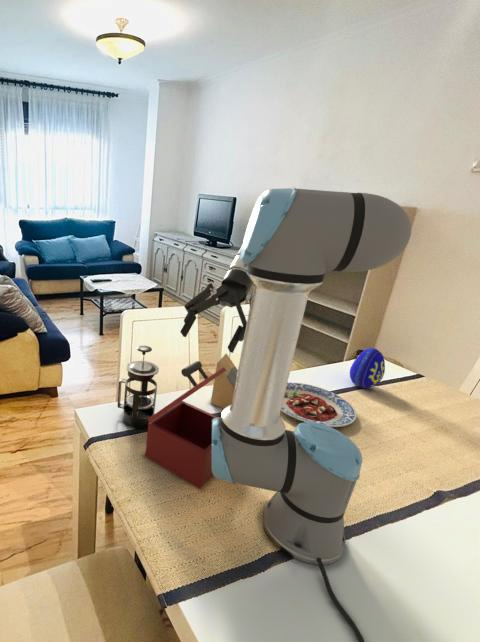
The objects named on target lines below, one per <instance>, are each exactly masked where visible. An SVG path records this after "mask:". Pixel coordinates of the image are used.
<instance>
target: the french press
mask: <svg viewBox="0 0 480 642" xmlns="http://www.w3.org/2000/svg"><path fill="white" fill-rule="evenodd" d="M136 350H137V351H138V352H140V353H141V354H142V360H135V361H131V362H129V363H128V364H127V365H126V368H125V369H126V371H127V376H128V378H120V379H119V381H118V391H117V408H118V409H123V412H122V418H121V419H122V422H123V423H124V425H126V426H127V427H129V428H131V429H137V430H145V429H148V423H149V421H148V419H149V418H150V417H151V416H153V415H154V414H155V412H156V401H157V391H158V383H157V381H156V380H155V379H153V378H154V377H155V375H157V374H158V373H159V371H160V368H159V366H158V365H157V364H155V363H153V362H151V361H146V360H145V355H146V353H150V352H152V350H153V348H152V347H150V346H149V345H138V346H137V347H136ZM134 381H136V382H140V385H139V387H140V388H139V390H137V389H133V388H131V387H129V386H128V385H129V383H131V382H134ZM122 383H123V384H125V385H124V386H125V387H124V398H123V404H122V403H121V400H122V399H121V398H122V396H121V395H122ZM149 383H151V384H152V385H154V388H153V389H150V390H148V388H149V387H148V385H149ZM128 393H130V394H128ZM151 395H153V397H152V396H151ZM139 413H142V414H145V415H147V417H139ZM130 414H131V415H130Z"/></svg>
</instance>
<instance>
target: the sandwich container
mask: <svg viewBox="0 0 480 642" xmlns="http://www.w3.org/2000/svg"><path fill="white" fill-rule="evenodd" d="M223 367H224V368H225V369H226V371H225V372H224V373H222V374H221V375H219V376H218V377H216V378H215V379H213V386H212V392H211V399H210V405H213V406H216V407H219V408H221V409H224V408H226V407H228V406H230V405H232V399H233V394H234V389H235V383H236V378H237V373H238V368H237V367H236V365H235V364H234V362H233V361H232V359H231V358H230V357H229V355H228V353H226V352H225V354H224V355H223V356H222V357H221V358H220V359H219V360H217V363H216V368H215V373H216V372H217V371H219V370H220V369H222V368H223Z"/></svg>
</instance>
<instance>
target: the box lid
mask: <svg viewBox="0 0 480 642" xmlns="http://www.w3.org/2000/svg"><path fill="white" fill-rule="evenodd" d="M225 371H226V369H225V368H224V367H223V368H222V369H220V370H219V371H217V372H216V371H215V372H214V373H213V374H211V375H210V376H208V375H207V374H206V372H205V371H204V369H203V364H202V362H201V361H199V360H196V361H193V362H192V363H191V364H189V365H187V366H185V367H184V368H182V369H181V375H182V376H183V377H184V378H187V379H188V380H189V382H190V384H191V385H192V386H193V387H192V388H189V390H187V391H185V392H184V393H183V394H181V395H180V396H179V397H177V398H176V399H174V400H172V402H170V403H168V404H167V405H166V406H164V407H163V408H162V409H160V410H159V411H157V412H156V413H154V415H153V416H151V417H150V418H149V419H148V421H149V422H152V421H153V420H155V419H156V418H158V417H159V416H161V415H162V414H163V413H165V412H166V411H168V410H169V409H171V408H172V407H174V406H175V405H177V404H178V403H180V402H181V401H184V400H185V399H188V397H190V396H192V395H193V394H194V393H196V392H197V391H199V390H201V389H202V388H203V387H205V386H206V385H208V384H209V383H211V382H212V381H214V379H215V378H216V377H218V376H219V375H221V374H222V373H224V372H225ZM196 372H199V374H201V376H202V377H203V380H202V381H201V382H199V383H197V382H196V379H194V377H193V376H192V375H193V374H194V373H196Z"/></svg>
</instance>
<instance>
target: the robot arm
mask: <svg viewBox="0 0 480 642" xmlns="http://www.w3.org/2000/svg"><path fill="white" fill-rule="evenodd" d="M411 234H412V223H411V221H410V217H409V214H408V213H407V212H406V211H405V210H404V208H403V207H402V206H401V205H400V204H398V203H396V202H395V201H393V200H392V199H389V198H388V197H384V196H381V195H379V194H374V193H368V192H349V191H335V190H334V191H333V190H322V189H321V190H319V189H308V188H296V187H292V188H290V187H288V188H269V189H267V190H265V191H263V192H262V193H261V194H260V195H259V197H257V200H256V202H255V204H254V207H253V209H252V212H251V214H250V218H249V219H248V223H247V226H246V229H245V232H244V237H243V241H242V244H241V246H240V248H239V250H238V252H237V253H236V255H235V257H234V259H233V260H232V262H231V264H230V265H229V268H228V270H227V272H226V273H225V274H224V276H223V279H222V281H221V283H220V285H219V286H215V285H214V284H213V283H212V282H209V283H208V284H207V286H206V287H205V288H204V289H203V290H201V292H199V293H198V294H197V295H195V296H194V297H193V298H192V299H191V300H189V301H188V302H186V303H185V304H184V309H185V310H186V312H187V313H186V316H185V317H184V319H183V323H184V324H183V326H182V327H181V329H180V334H181V335H182V337H184V338H187V336H188V334H189V332H190V330H191V329H192V327H193V326H194V323H195V321H196V320H197V316H196V315H199V314H201V313H202V312H205V311H206V310H208V309H211V308H212V307H214V306H218V305H221V306H223V307H224V306H227V307H228V308H234V307H235V308H236V311H237V314H238V316H239V319H240V322H241V325H240V324H239V325H238V326H237V328H236V330H235V332H234V333H233V336H232V337H231V340H230V341H229V343H228V345H227V349H228V351H229V353H231V354H233V353H234V352H235V349H236V347H237V345H238V343H239V342H242V346H241V352H240V358H239V362H238V366H237V367H238V368H237V370H238V373H237V378H236V383H235V389H234V394H233V399H232V405H230V406H228V407H226V408H222V409H223V410H221V414H220V417H219V416H217V417H218V418H213V419H212V464H211V469H212V473H213V477H214V478H215V479H218V480H220V481H224V482H228V483H231V484H233V485H242V486H247V487H251V488H257V489H260V490H261V489H262V490H267V491H271V492H275V493H273V495H272V496H271V498H270V499H269V500H268V501H267V503H266V504H265V506H264V509H263V511H262V516H261V521H262V526H263V529H264V532H265V534H266V535H267V537H268V538H269V540H271V542H272V543H273V544H274V545H275V546H276V547H277V548H278V549H279V550H281V551H282V552H284V553H285V555H288V556H290V557H291V558H293V559H295V560H297V561H300V562H303V563H305V564H308V565H309V564H310V565H315V566H318V567H319V571H320V573H321V575H322V578H323V582H324V585H325V588H326V591H327V593H328V595H329V597H330V599H331V600H332V602H333V604H334V606H335V607H336V608H337V609H338V611H339V613H340V614H341V616H343V618H344V619H345V620H346V622H347V623H348V625H349V626H350V628H351V629H352V631H353V633H354V634H355V636H356V638H357V641H358V642H365V639H364V637H363V635H362V633H361V631H360V630H359V627H358V626H357V625H356V623H355V622H354V620H353V619H352V617H351V616H350V615H349V614H348V613H347V611H346V610H345V608H344V607H343V605H342V604H341V603H340V602H339V600H338V598H337V597H336V595H335V593H334V591H333V589H332V586H331V583H330V579H329V576H328V574H327V571H326V568H325V566H326V565H327V566H328V565H331V564H334V563H335V562H337V561H338V560H340V558H341V557H342V555H343V552H344V550H345V547H346V533H345V519H344V517H345V516H344V515H345V513H346V510H347V508H348V505H349V503H350V500H351V497H352V495H353V492H354V489H355V487H356V484H357V482H358V480H359V479H360V473H361V468H362V464H363V455H362V452H361V450H360V448H359V447H358V446H357V445H356V443H355V442H354V441H353V440H351V438H350V437H348V436H347V435H345V434H344V433H342V432H341V431H339V430H337V429H335V427H329V426H327V425H324V424H320V423H316V422H300V423H299V424H297V426H296V427H295V428H294V430H288V429H286V424H285V422H284V421H283V419H282V418H281V417H280V415H281V412H282V411H281V407H282V403H283V399H284V395H285V391H286V386H287V383H289V382H288V381H289V378H290V374H291V371H292V370H291V369H292V367H293V361H294V357H295V353H296V348H297V344H298V340H299V336H300V332H301V328H302V324H303V320H304V315H305V311H306V307H307V303H308V298H309V294H310V292H311V291H313V290H315V289H316V288H318V287H320V285H323V282H324V278H325V275H326V272H342V273H358V272H359V273H360V272H366V271H371V270H375V269H378V268H381V267H383V266H385V265H387V264H390V263H391V262H393V261H394V260H395V259H397V258H398V257H399V256H400V255H401V254H402V253H403V252H404V250H405V249H406V247H407V246H408V244H409V241H410V239H411ZM252 287H253V288H252ZM251 289H252V293H251V294H249V292H250V291H251ZM245 301H247V303H248V304H249V309H248V315H247V319H246V316H245V313H244V310H243V308H242V305H241V304H243V302H245Z"/></svg>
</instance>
